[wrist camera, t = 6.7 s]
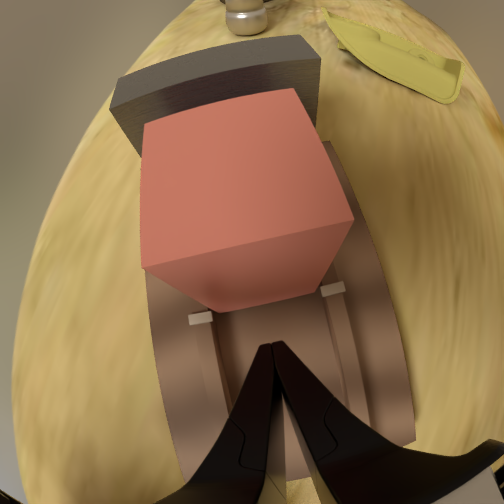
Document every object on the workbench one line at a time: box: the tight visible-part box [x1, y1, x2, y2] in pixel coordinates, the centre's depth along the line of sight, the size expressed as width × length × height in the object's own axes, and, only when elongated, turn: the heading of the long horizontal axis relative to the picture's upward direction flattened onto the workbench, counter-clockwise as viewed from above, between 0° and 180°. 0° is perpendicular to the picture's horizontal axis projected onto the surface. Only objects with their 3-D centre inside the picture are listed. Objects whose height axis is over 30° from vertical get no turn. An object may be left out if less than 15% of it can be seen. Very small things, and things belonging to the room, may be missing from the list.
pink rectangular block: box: [140, 88, 354, 313], centre depth 13 cm, size 6×6×10 cm
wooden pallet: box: [145, 141, 416, 483], centre depth 17 cm, size 24×16×3 cm, turn 11°
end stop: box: [109, 35, 321, 158], centre depth 15 cm, size 3×10×10 cm, turn 102°
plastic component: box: [321, 7, 465, 104], centre depth 25 cm, size 20×7×10 cm
